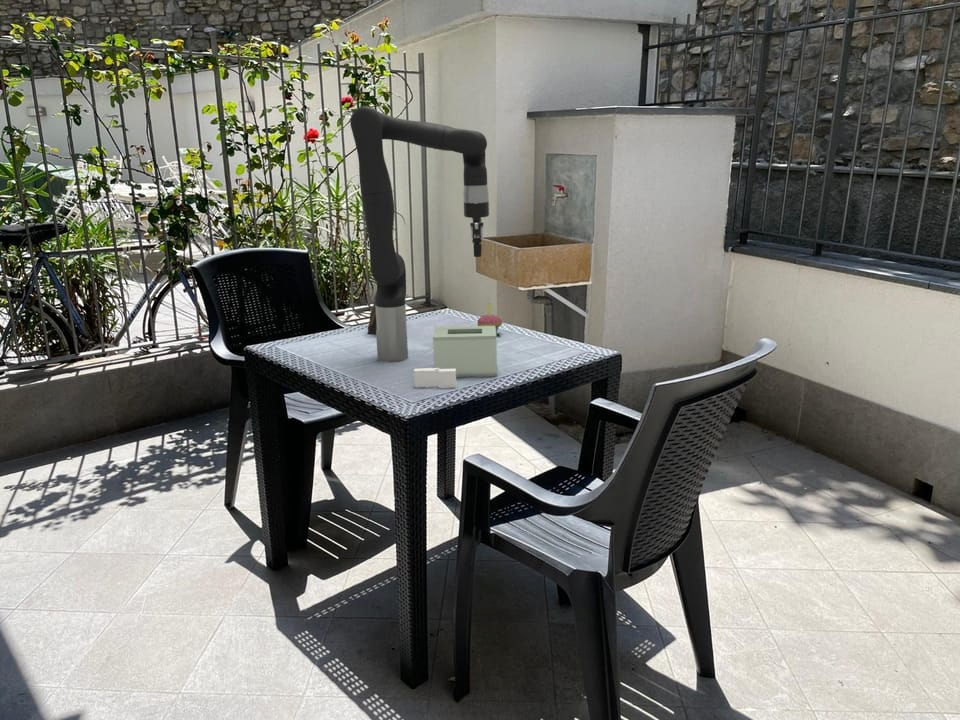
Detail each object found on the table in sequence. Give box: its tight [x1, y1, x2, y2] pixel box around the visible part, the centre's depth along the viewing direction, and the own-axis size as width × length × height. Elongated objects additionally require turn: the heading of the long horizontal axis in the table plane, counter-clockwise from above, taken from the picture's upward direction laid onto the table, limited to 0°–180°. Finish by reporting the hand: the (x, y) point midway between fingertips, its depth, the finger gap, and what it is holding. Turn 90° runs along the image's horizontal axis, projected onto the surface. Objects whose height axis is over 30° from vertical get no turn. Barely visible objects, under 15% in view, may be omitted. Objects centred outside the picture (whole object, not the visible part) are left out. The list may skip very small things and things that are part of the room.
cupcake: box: [477, 299, 503, 335], centre depth 257 cm, size 9×8×12 cm
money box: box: [432, 325, 498, 378], centre depth 218 cm, size 18×12×12 cm, turn 91°
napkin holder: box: [413, 367, 457, 388], centre depth 205 cm, size 15×11×6 cm
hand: (477, 254), depth 227 cm, fingers open, 8 cm apart
